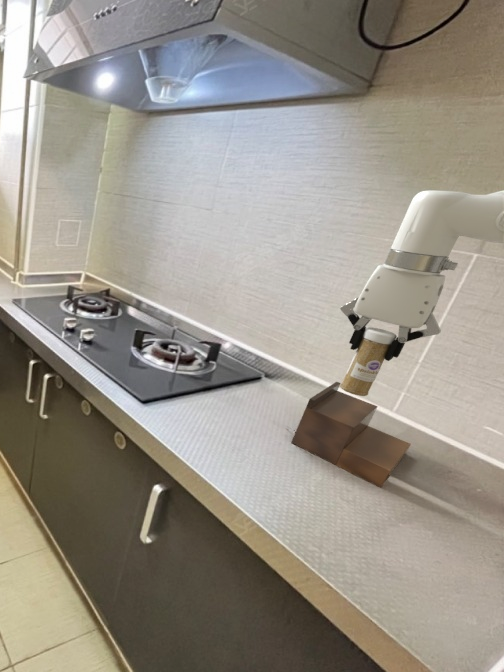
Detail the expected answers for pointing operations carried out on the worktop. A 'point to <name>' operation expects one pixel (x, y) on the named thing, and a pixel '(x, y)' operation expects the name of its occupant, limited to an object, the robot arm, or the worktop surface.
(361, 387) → the sprinkles bottle
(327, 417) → the spice rack
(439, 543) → the worktop surface
